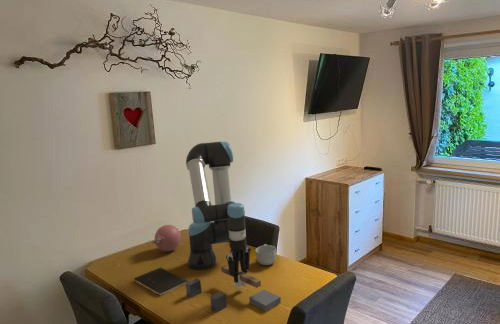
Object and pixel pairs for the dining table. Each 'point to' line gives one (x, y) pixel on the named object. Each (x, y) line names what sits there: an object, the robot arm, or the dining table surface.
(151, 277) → the hardcover book
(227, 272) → the walnut stick
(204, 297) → the dining table surface
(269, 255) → the teacup
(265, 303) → the tile
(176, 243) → the balloon
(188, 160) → the robot arm
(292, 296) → the dining table surface
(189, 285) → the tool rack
